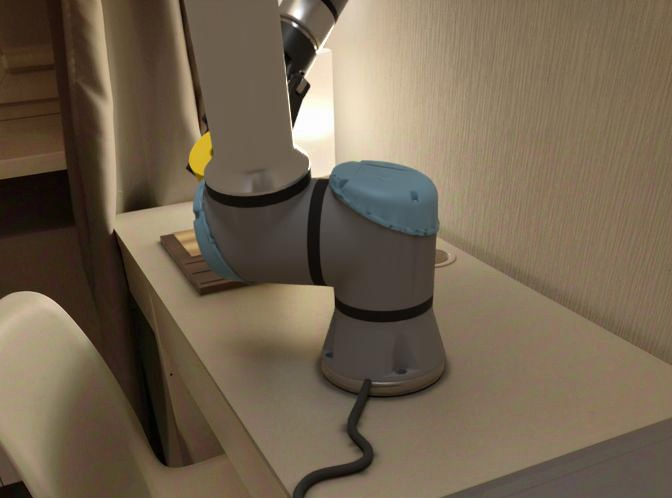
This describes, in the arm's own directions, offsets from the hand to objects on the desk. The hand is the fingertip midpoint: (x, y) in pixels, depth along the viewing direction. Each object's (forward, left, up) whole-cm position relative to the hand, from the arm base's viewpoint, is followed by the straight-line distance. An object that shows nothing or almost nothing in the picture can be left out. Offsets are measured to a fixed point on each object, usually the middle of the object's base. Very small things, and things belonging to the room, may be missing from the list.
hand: (214, 182), depth 101 cm
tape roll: (+6, -1, -4) cm, 8 cm away
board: (+12, +9, -16) cm, 22 cm away
